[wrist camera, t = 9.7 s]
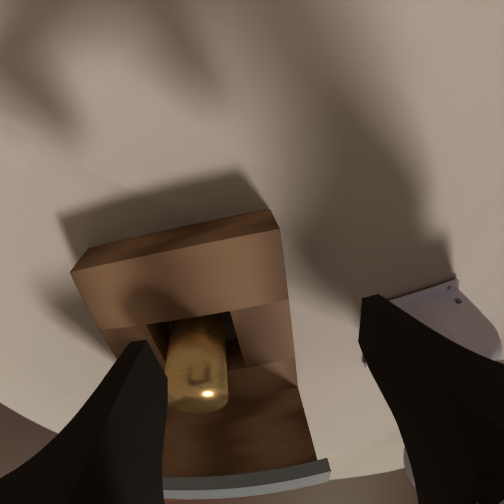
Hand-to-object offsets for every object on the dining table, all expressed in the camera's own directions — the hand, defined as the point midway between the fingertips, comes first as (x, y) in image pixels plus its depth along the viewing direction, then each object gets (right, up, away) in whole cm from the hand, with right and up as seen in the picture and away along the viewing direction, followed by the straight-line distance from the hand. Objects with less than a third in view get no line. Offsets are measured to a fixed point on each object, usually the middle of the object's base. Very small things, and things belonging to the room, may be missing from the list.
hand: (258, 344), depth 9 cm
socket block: (-4, -2, +11) cm, 12 cm away
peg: (-4, -2, +11) cm, 12 cm away
